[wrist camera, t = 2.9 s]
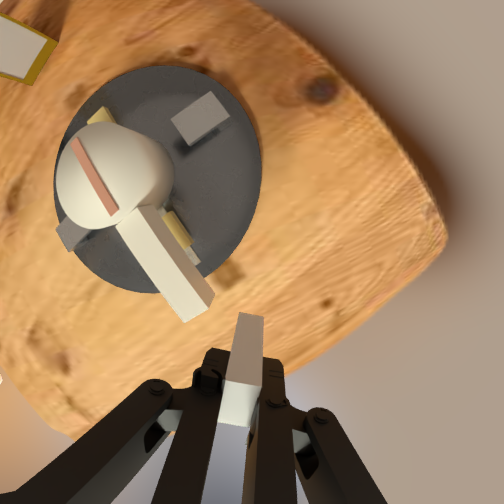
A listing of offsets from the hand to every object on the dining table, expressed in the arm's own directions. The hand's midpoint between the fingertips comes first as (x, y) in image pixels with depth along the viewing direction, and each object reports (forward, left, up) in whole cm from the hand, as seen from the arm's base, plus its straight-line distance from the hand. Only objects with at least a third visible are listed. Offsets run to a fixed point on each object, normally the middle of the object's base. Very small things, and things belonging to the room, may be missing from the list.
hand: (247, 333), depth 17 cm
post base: (-15, -4, -11) cm, 19 cm away
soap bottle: (-45, -7, -11) cm, 47 cm away
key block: (-13, -4, -10) cm, 16 cm away
